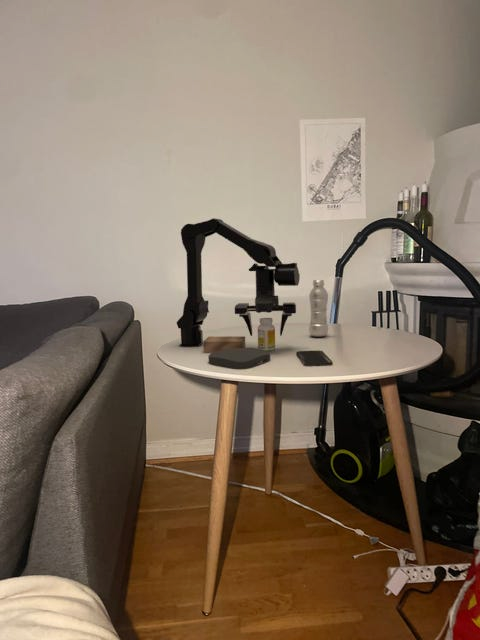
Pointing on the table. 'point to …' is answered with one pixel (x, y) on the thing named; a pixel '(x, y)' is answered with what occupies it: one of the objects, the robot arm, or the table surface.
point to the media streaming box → (239, 357)
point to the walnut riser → (223, 343)
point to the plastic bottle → (318, 309)
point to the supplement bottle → (266, 334)
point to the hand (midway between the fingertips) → (266, 335)
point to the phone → (314, 358)
